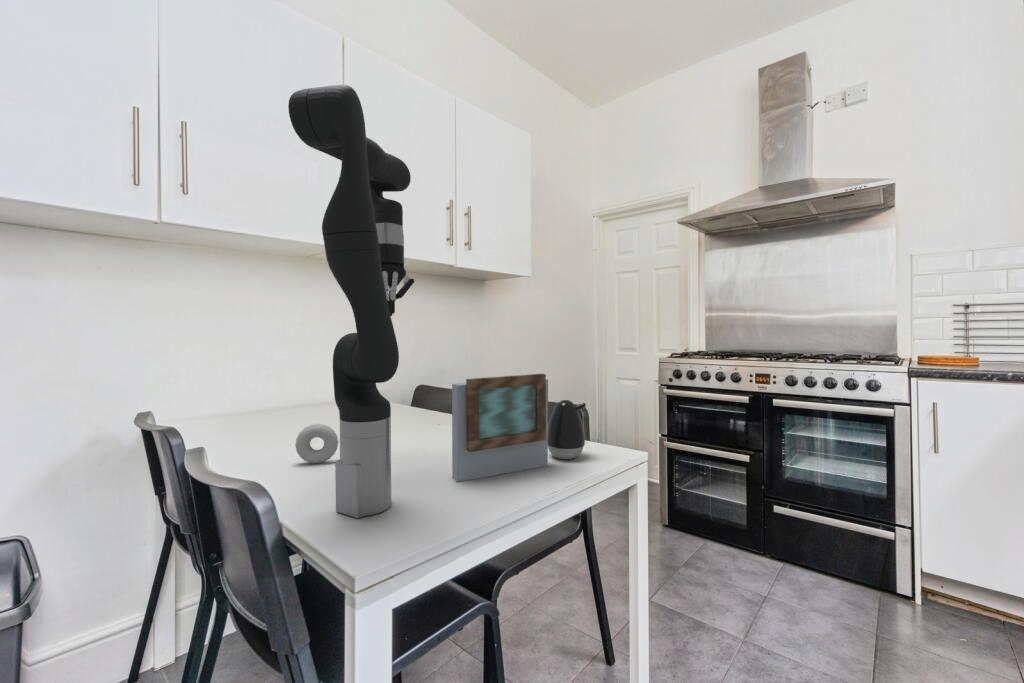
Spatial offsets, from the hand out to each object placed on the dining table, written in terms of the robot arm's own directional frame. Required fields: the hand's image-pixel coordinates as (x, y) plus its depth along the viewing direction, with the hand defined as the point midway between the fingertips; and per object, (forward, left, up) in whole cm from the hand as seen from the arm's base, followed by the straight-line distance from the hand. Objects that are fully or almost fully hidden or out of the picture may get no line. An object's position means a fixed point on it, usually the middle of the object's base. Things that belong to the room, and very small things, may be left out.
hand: (388, 316), depth 108 cm
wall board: (+11, -26, -37) cm, 47 cm away
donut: (-8, +17, -37) cm, 42 cm away
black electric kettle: (+30, -34, -37) cm, 59 cm away
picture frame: (+10, -28, -30) cm, 42 cm away
